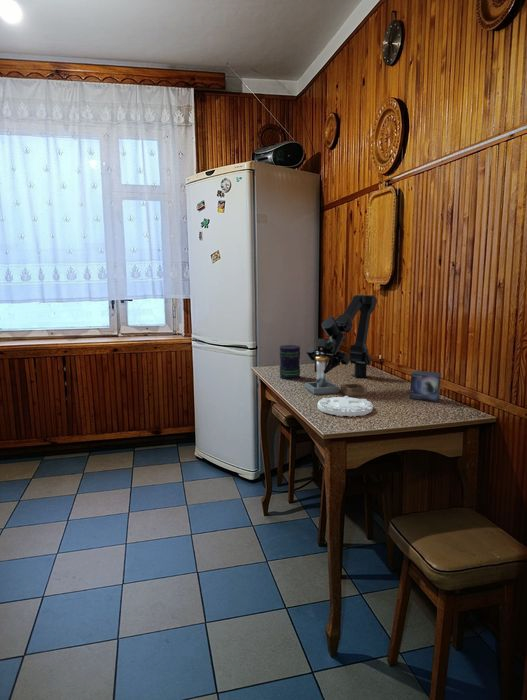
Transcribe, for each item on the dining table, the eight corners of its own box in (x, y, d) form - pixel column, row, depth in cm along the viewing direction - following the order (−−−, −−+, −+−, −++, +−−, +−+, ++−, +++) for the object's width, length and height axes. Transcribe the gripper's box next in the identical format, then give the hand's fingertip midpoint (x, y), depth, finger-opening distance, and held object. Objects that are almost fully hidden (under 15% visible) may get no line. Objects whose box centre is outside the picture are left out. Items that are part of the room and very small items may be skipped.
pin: (315, 385, 202) (315, 355, 200) (328, 385, 201) (328, 355, 199) (315, 388, 197) (315, 358, 194) (327, 388, 196) (328, 358, 194)
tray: (304, 388, 203) (304, 382, 202) (328, 386, 206) (328, 381, 205) (313, 394, 192) (313, 388, 192) (338, 392, 195) (338, 386, 195)
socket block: (340, 391, 197) (340, 384, 196) (357, 390, 199) (358, 383, 198) (348, 396, 189) (348, 389, 189) (366, 394, 191) (366, 387, 191)
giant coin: (379, 407, 175) (379, 399, 175) (362, 421, 158) (362, 413, 158) (329, 400, 185) (329, 393, 185) (308, 412, 168) (308, 404, 168)
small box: (409, 399, 184) (410, 373, 183) (412, 395, 190) (413, 370, 188) (437, 402, 179) (438, 375, 178) (439, 398, 185) (441, 372, 183)
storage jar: (300, 379, 219) (300, 348, 217) (279, 379, 220) (279, 348, 217) (299, 375, 229) (299, 345, 227) (279, 375, 229) (279, 345, 227)
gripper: (308, 330, 204) (293, 358, 197) (346, 333, 192) (332, 363, 186) (318, 345, 211) (304, 373, 205) (355, 349, 199) (341, 379, 193)
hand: (319, 372), depth 197 cm, fingers closed on pin, 4 cm apart
